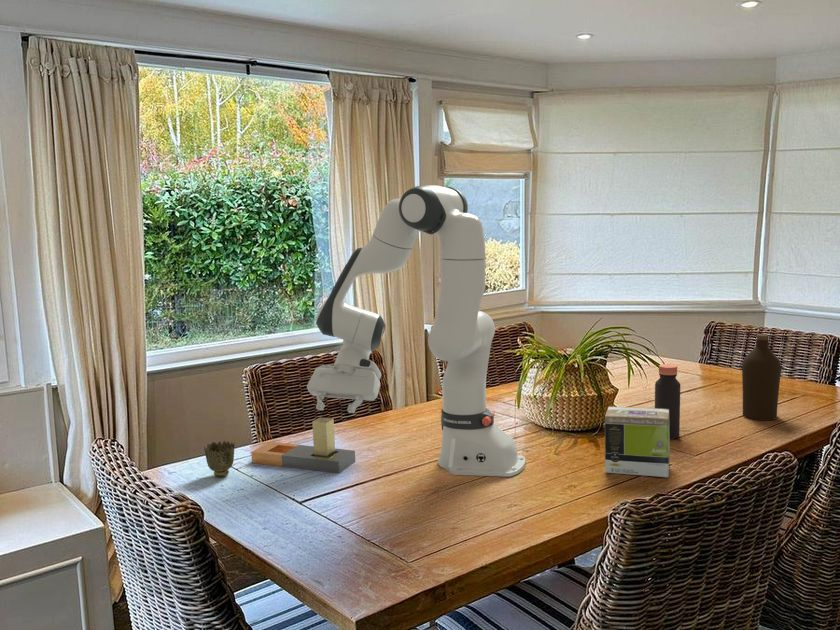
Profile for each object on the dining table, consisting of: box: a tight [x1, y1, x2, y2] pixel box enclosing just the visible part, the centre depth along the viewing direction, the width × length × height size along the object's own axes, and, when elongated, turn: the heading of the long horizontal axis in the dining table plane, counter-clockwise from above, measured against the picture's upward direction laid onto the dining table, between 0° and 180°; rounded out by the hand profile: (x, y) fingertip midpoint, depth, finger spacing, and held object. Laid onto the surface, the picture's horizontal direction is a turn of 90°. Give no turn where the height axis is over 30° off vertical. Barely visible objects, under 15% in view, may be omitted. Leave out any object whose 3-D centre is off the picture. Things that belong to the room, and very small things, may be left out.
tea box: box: [604, 405, 670, 478], centre depth 186 cm, size 15×10×15 cm, turn 71°
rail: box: [250, 441, 356, 474], centre depth 200 cm, size 26×9×3 cm, turn 68°
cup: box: [203, 440, 236, 478], centre depth 191 cm, size 8×7×8 cm
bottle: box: [654, 363, 681, 440], centre depth 212 cm, size 7×7×20 cm
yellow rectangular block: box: [311, 417, 336, 458], centre depth 196 cm, size 4×4×12 cm
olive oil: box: [741, 333, 782, 421], centre depth 227 cm, size 11×11×25 cm
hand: (334, 410), depth 202 cm, fingers open, 8 cm apart
